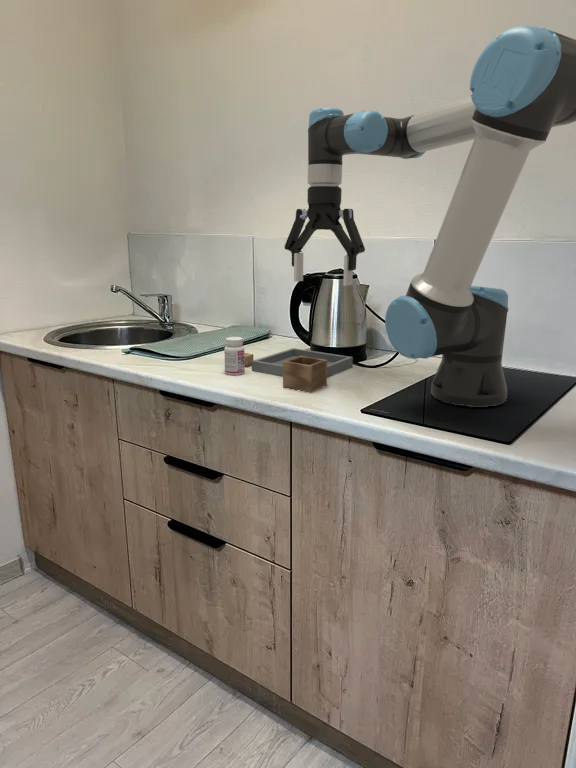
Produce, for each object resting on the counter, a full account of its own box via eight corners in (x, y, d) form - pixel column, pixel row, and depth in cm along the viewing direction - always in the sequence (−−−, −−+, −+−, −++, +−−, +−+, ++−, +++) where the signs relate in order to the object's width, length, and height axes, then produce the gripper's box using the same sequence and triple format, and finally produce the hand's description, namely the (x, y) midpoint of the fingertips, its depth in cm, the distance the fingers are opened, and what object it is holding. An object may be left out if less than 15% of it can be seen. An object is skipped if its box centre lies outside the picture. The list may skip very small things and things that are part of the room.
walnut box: (326, 386, 127) (327, 359, 126) (309, 393, 122) (310, 366, 120) (300, 381, 131) (300, 355, 130) (282, 388, 126) (283, 361, 124)
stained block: (253, 365, 145) (253, 354, 144) (247, 368, 143) (247, 356, 142) (233, 362, 148) (233, 351, 147) (227, 365, 145) (226, 353, 144)
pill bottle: (241, 376, 135) (241, 340, 132) (222, 374, 136) (221, 339, 133) (247, 371, 139) (246, 336, 137) (228, 369, 140) (227, 336, 138)
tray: (352, 366, 144) (352, 357, 143) (314, 382, 130) (314, 372, 129) (293, 356, 154) (293, 348, 153) (251, 370, 139) (251, 361, 139)
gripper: (383, 185, 122) (378, 285, 128) (289, 188, 137) (288, 278, 143) (366, 183, 117) (361, 288, 122) (269, 186, 131) (270, 280, 137)
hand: (322, 283), depth 133 cm, fingers open, 13 cm apart
